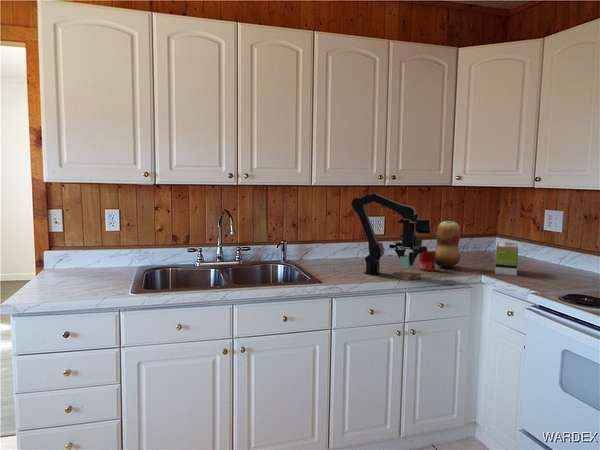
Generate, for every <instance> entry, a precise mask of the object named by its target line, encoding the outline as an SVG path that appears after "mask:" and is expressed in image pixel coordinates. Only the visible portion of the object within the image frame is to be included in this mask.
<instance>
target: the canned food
mask: <svg viewBox="0 0 600 450" xmlns="http://www.w3.org/2000/svg"><path fill="white" fill-rule="evenodd" d="M418 255H419V256H418V257H419V259H418V263H419V264H418V269H419V270H420V271H421V272H429V273H430V272H435V270H436V263H435V257H436V250H435V248H429V247H427V252H425V253H419V254H418Z"/></svg>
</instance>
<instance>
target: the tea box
mask: <svg viewBox="0 0 600 450" xmlns="http://www.w3.org/2000/svg"><path fill="white" fill-rule="evenodd" d="M495 248H496V249H495V264H494V265H495V266H494V268H495V269H494V273H495V275H503V276H513V277H515V276H517V275H518V274H517V273H518V258H519V246H518V243H517V242H509V241H508V242H507V241H505V242H504V241H497V242H496V246H495Z"/></svg>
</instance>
